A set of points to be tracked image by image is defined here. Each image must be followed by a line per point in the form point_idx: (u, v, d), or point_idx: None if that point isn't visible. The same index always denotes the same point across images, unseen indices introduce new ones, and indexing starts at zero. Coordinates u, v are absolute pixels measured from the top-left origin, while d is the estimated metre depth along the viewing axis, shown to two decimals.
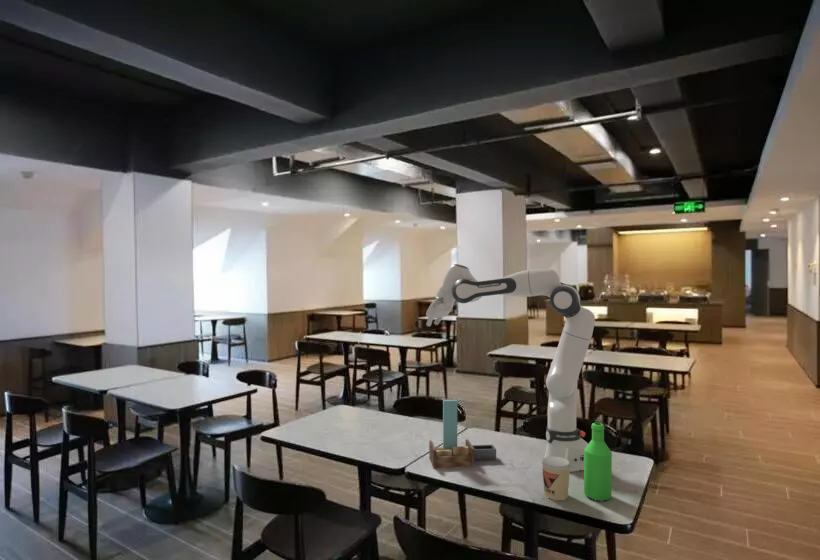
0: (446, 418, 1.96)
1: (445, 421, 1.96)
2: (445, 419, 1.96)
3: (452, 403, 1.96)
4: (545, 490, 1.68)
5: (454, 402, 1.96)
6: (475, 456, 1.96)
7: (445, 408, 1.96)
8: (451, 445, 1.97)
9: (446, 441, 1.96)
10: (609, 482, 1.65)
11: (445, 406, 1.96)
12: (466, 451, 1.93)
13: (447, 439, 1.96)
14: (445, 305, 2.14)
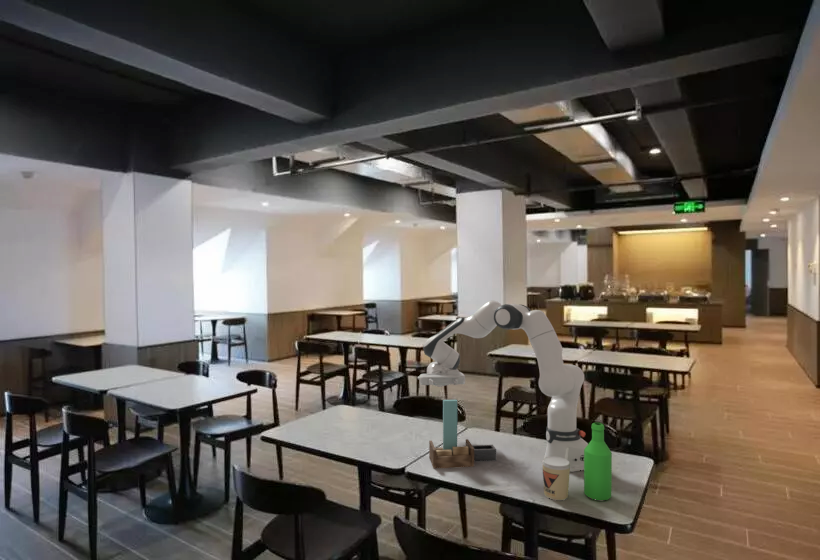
0: (446, 418, 1.96)
1: (445, 421, 1.96)
2: (445, 419, 1.96)
3: (452, 403, 1.96)
4: (545, 490, 1.68)
5: (454, 402, 1.96)
6: (475, 456, 1.96)
7: (445, 408, 1.96)
8: (451, 445, 1.97)
9: (446, 441, 1.96)
10: (609, 482, 1.65)
11: (445, 406, 1.96)
12: (466, 451, 1.93)
13: (447, 439, 1.96)
14: (435, 372, 2.20)
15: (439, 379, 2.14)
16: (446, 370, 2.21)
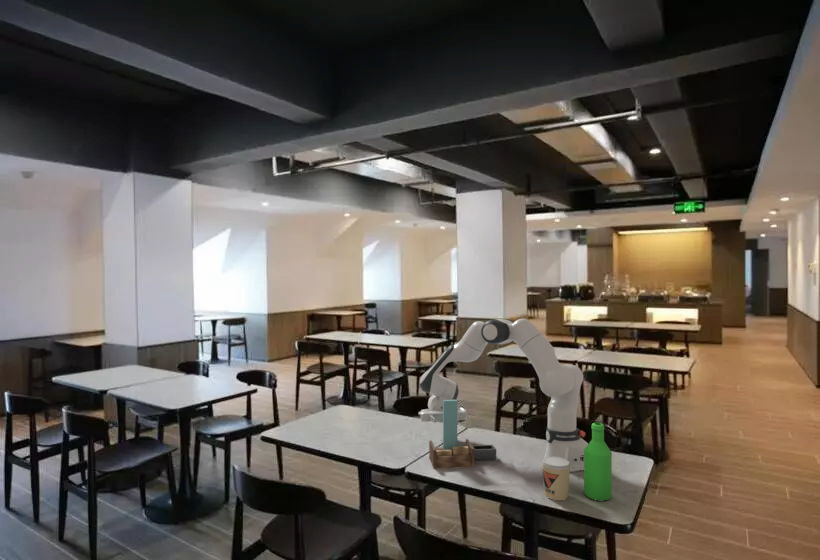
0: (446, 418, 1.96)
1: (445, 421, 1.96)
2: (445, 419, 1.96)
3: (452, 403, 1.96)
4: (545, 490, 1.68)
5: (454, 402, 1.96)
6: (475, 456, 1.96)
7: (445, 408, 1.96)
8: (451, 445, 1.97)
9: (446, 441, 1.96)
10: (609, 482, 1.65)
11: (445, 406, 1.96)
12: (466, 451, 1.93)
13: (447, 439, 1.96)
14: (437, 407, 2.18)
15: (440, 416, 2.12)
16: None
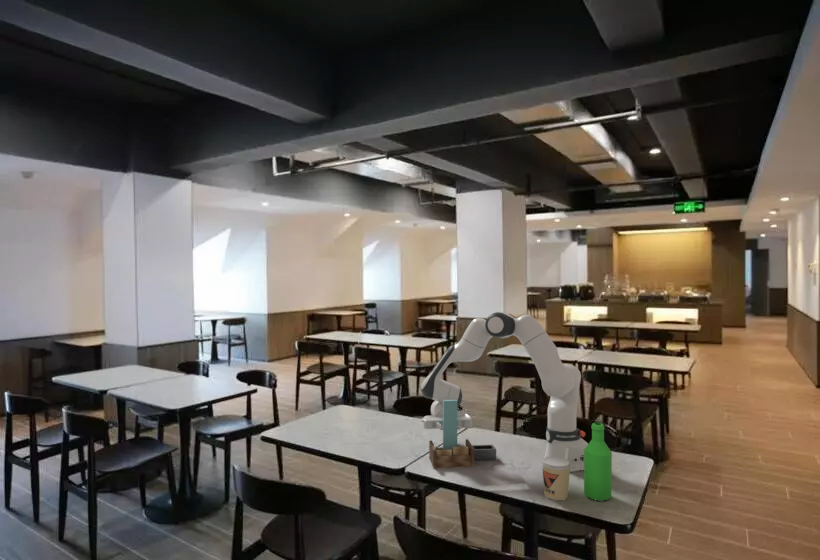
0: (446, 418, 1.96)
1: (445, 421, 1.96)
2: (445, 419, 1.96)
3: (452, 403, 1.96)
4: (545, 490, 1.68)
5: (454, 402, 1.96)
6: (475, 456, 1.96)
7: (445, 408, 1.96)
8: (451, 445, 1.97)
9: (446, 441, 1.96)
10: (609, 482, 1.65)
11: (445, 406, 1.96)
12: (466, 451, 1.93)
13: (447, 439, 1.96)
14: (440, 414, 2.07)
15: None
16: None
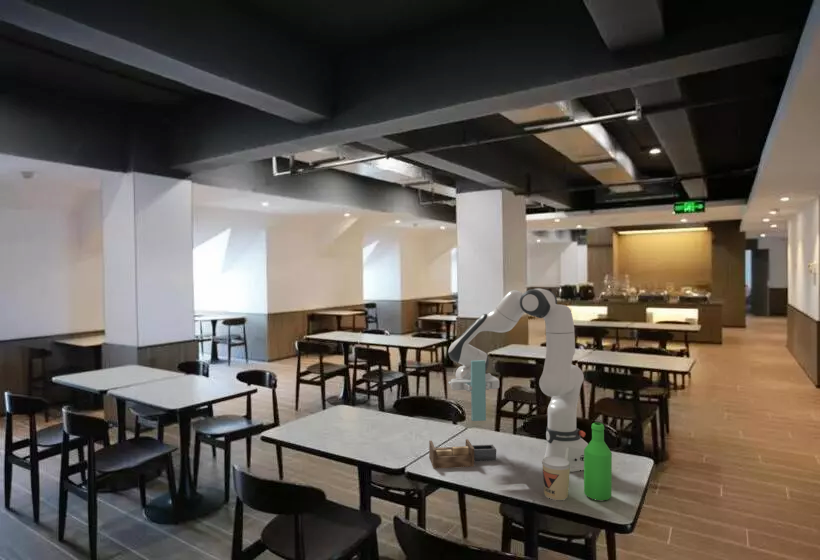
0: (474, 378, 1.97)
1: (473, 381, 1.97)
2: (473, 379, 1.97)
3: (480, 363, 1.97)
4: (545, 490, 1.68)
5: (482, 362, 1.97)
6: (475, 456, 1.96)
7: (473, 368, 1.97)
8: (480, 406, 1.97)
9: (475, 401, 1.97)
10: (609, 482, 1.65)
11: (473, 366, 1.97)
12: (466, 451, 1.93)
13: (476, 399, 1.97)
14: (467, 377, 2.08)
15: None
16: None
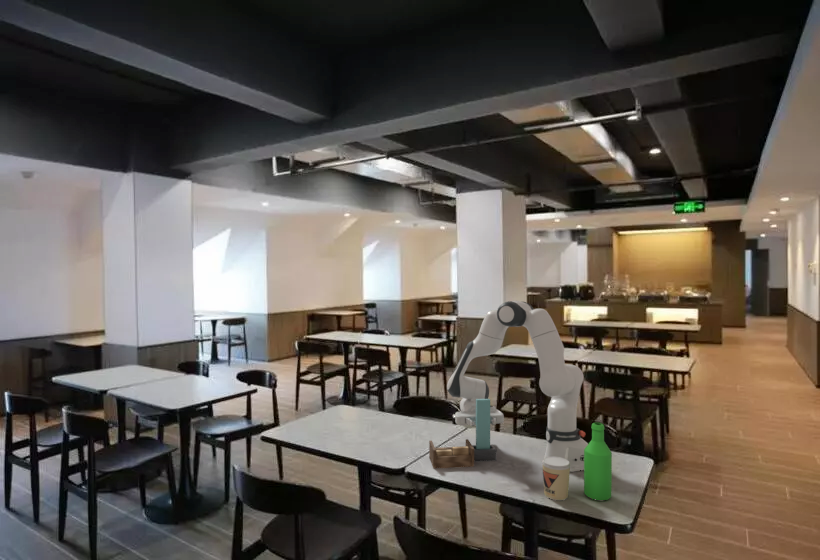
0: (479, 417, 1.98)
1: (478, 420, 1.98)
2: (478, 418, 1.98)
3: (485, 402, 1.98)
4: (545, 490, 1.68)
5: (487, 401, 1.98)
6: (475, 456, 1.96)
7: (478, 407, 1.98)
8: (484, 444, 1.98)
9: (479, 440, 1.98)
10: (609, 482, 1.65)
11: (478, 405, 1.98)
12: (466, 451, 1.93)
13: (480, 438, 1.98)
14: (472, 410, 2.09)
15: None
16: None
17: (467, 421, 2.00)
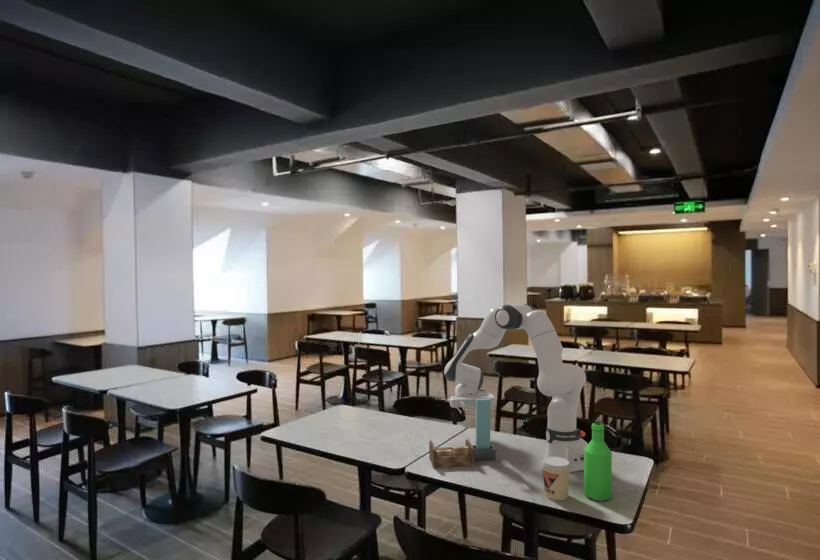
0: (479, 417, 1.98)
1: (478, 420, 1.98)
2: (478, 418, 1.98)
3: (485, 402, 1.98)
4: (545, 490, 1.68)
5: (487, 401, 1.98)
6: (475, 456, 1.96)
7: (478, 407, 1.98)
8: (484, 444, 1.98)
9: (479, 440, 1.98)
10: (609, 482, 1.65)
11: (478, 405, 1.98)
12: (466, 451, 1.93)
13: (480, 438, 1.98)
14: (465, 394, 2.21)
15: (470, 401, 2.16)
16: (476, 392, 2.23)
17: (460, 404, 2.13)
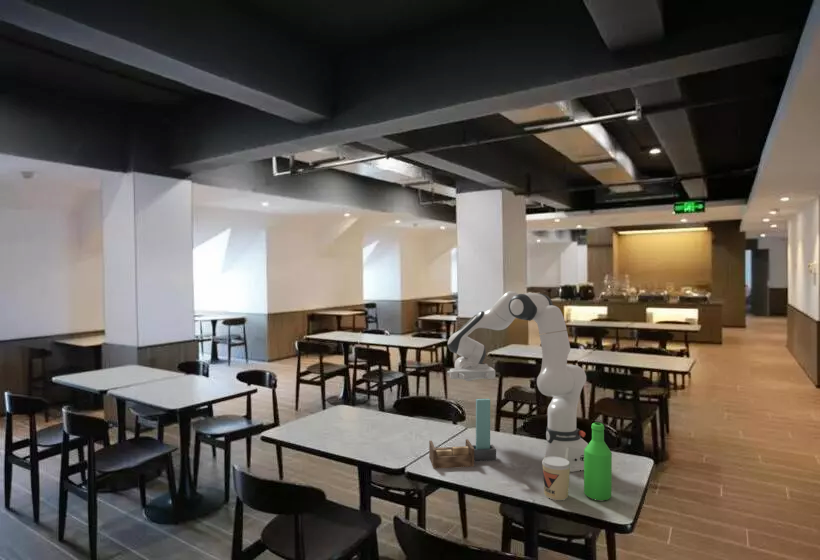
0: (479, 417, 1.98)
1: (478, 420, 1.98)
2: (478, 418, 1.98)
3: (485, 402, 1.98)
4: (545, 490, 1.68)
5: (487, 401, 1.98)
6: (475, 456, 1.96)
7: (478, 407, 1.98)
8: (484, 444, 1.98)
9: (479, 440, 1.98)
10: (609, 482, 1.65)
11: (478, 405, 1.98)
12: (466, 451, 1.93)
13: (480, 438, 1.98)
14: (465, 367, 2.21)
15: (469, 374, 2.16)
16: (475, 365, 2.23)
17: (460, 375, 2.13)
